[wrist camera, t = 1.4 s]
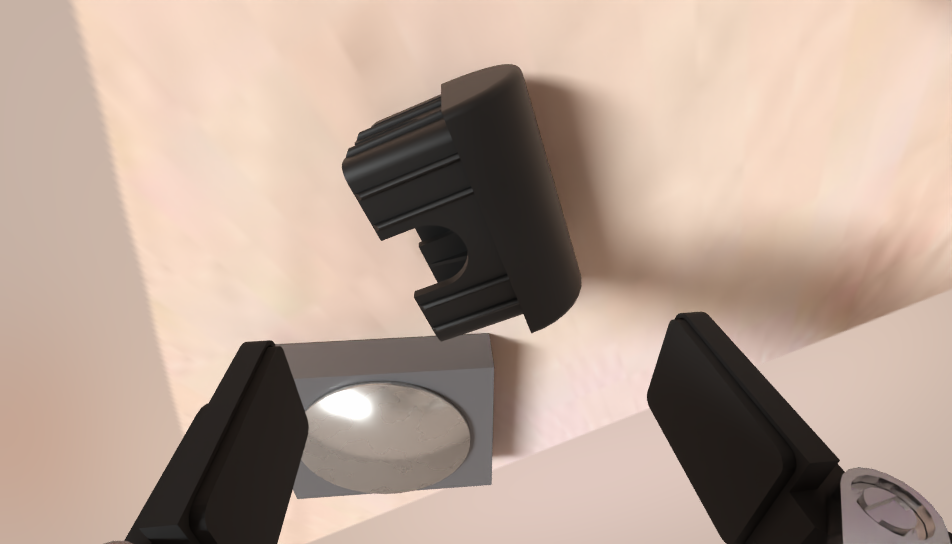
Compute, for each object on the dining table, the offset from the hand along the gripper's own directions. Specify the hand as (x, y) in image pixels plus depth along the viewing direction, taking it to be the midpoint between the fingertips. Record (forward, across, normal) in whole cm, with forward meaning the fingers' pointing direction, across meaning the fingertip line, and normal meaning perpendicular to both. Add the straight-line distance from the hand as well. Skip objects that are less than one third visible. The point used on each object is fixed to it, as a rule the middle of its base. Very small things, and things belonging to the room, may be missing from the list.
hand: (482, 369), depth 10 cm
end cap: (+13, -1, 0) cm, 13 cm away
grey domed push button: (+13, +5, +16) cm, 21 cm away
